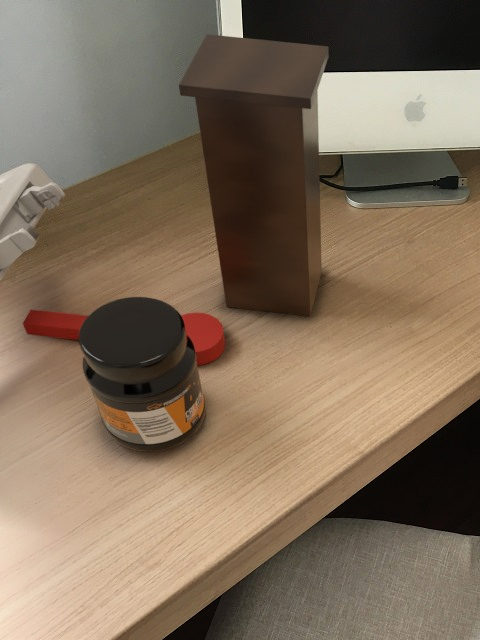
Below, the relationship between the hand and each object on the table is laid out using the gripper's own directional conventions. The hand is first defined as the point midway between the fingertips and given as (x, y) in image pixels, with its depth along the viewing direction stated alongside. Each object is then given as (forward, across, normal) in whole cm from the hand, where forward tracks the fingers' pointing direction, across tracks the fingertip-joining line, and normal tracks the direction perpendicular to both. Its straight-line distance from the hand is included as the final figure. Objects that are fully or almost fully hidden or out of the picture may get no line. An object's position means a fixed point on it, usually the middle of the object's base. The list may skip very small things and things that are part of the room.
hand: (45, 212), depth 76 cm
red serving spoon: (-4, 0, +16) cm, 16 cm away
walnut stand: (+9, +11, +23) cm, 27 cm away
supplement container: (+2, -11, +19) cm, 22 cm away
